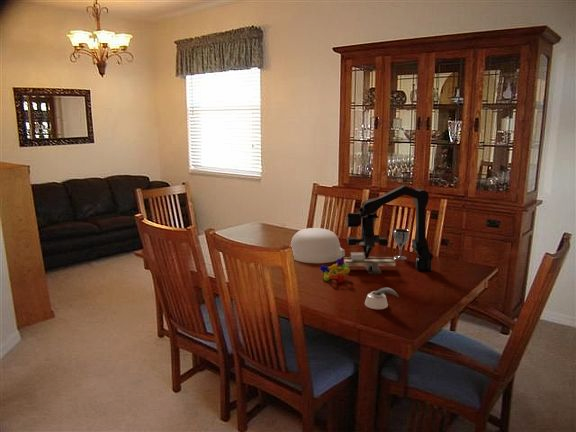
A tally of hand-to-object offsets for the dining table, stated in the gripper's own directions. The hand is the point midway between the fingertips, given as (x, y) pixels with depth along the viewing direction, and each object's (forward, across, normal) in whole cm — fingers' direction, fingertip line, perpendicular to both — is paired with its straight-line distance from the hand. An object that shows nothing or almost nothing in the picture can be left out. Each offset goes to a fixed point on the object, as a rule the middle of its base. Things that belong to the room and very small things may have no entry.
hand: (366, 258), depth 222 cm
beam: (+4, +1, 0) cm, 4 cm away
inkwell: (+6, -1, -46) cm, 47 cm away
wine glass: (+6, +21, +20) cm, 30 cm away
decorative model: (+6, -17, -14) cm, 23 cm away
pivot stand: (+6, +3, 0) cm, 7 cm away
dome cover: (+6, -23, +26) cm, 35 cm away
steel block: (+1, -4, 0) cm, 5 cm away
